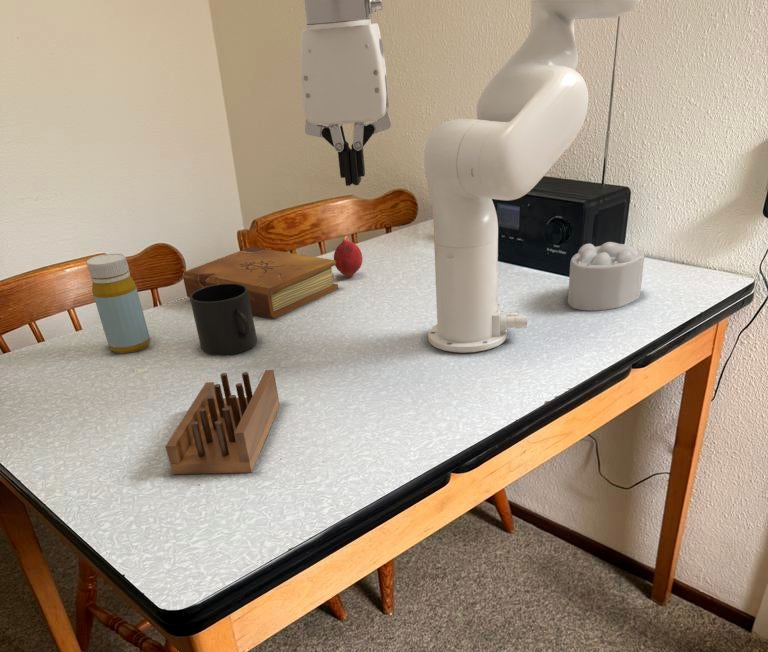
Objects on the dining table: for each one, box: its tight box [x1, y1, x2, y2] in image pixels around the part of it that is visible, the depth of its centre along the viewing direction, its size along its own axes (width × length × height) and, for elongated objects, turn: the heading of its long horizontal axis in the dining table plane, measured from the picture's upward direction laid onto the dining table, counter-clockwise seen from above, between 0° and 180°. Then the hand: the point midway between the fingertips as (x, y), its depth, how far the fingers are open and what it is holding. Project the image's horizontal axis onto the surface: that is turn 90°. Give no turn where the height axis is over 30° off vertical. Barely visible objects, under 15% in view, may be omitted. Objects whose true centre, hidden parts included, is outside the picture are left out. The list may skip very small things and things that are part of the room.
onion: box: [333, 235, 363, 278], centre depth 151 cm, size 6×6×8 cm
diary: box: [182, 246, 339, 320], centre depth 146 cm, size 23×19×6 cm
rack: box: [164, 369, 281, 475], centre depth 98 cm, size 10×18×6 cm, turn 175°
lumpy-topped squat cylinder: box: [567, 241, 645, 312], centre depth 129 cm, size 10×13×9 cm
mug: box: [189, 283, 258, 356], centre depth 124 cm, size 9×12×9 cm
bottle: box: [86, 252, 151, 354], centre depth 126 cm, size 7×7×15 cm
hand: (353, 183), depth 97 cm, fingers closed
